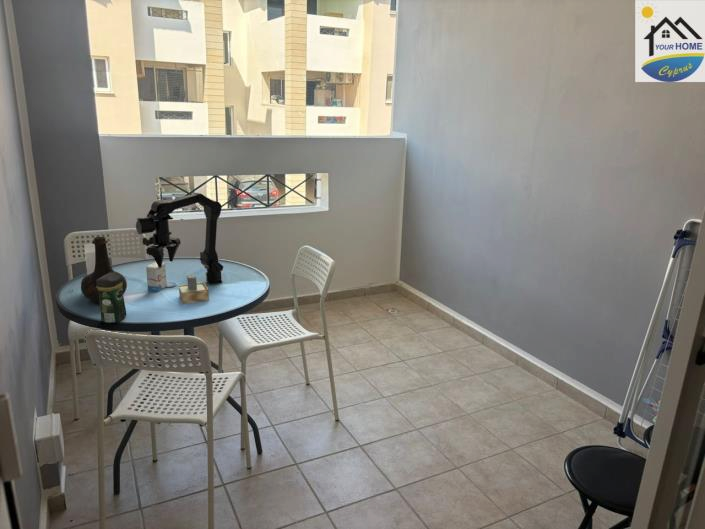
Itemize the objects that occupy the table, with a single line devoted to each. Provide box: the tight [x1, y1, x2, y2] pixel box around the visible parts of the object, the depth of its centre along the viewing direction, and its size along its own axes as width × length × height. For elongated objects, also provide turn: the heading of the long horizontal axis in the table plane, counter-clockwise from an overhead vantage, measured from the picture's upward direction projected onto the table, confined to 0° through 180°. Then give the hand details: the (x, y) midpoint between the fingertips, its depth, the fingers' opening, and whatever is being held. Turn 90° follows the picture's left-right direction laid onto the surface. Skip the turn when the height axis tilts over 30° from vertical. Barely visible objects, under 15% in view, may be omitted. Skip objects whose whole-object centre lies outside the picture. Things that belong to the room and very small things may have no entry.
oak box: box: [178, 282, 210, 305], centre depth 227 cm, size 11×10×5 cm
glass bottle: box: [80, 236, 128, 304], centre depth 220 cm, size 18×18×28 cm
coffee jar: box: [96, 272, 128, 324], centre depth 202 cm, size 10×8×19 cm
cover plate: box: [178, 273, 205, 293], centre depth 226 cm, size 10×8×6 cm
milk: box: [83, 243, 95, 275], centre depth 231 cm, size 6×6×22 cm
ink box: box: [145, 261, 168, 293], centre depth 237 cm, size 9×5×12 cm, turn 168°
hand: (165, 264), depth 230 cm, fingers open, 9 cm apart
